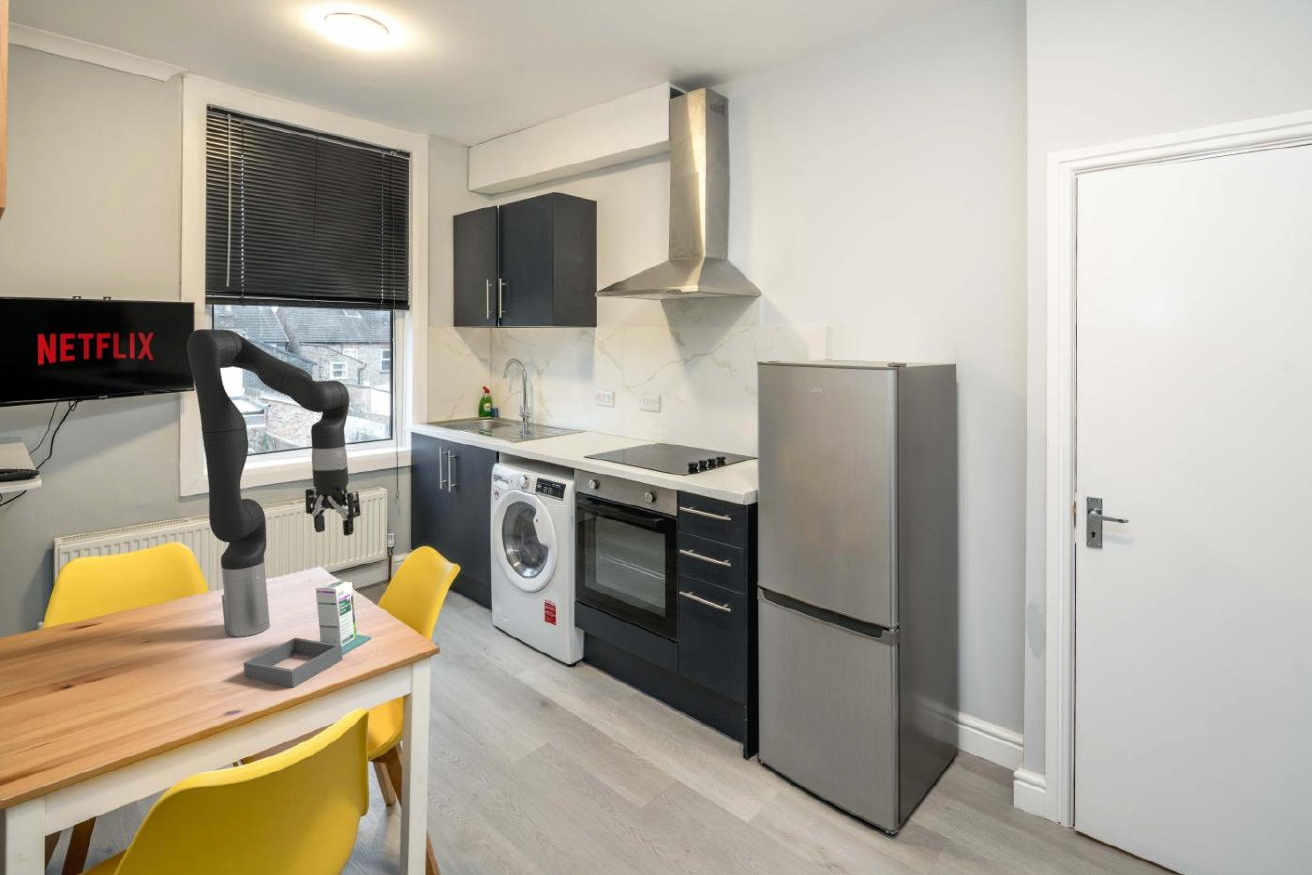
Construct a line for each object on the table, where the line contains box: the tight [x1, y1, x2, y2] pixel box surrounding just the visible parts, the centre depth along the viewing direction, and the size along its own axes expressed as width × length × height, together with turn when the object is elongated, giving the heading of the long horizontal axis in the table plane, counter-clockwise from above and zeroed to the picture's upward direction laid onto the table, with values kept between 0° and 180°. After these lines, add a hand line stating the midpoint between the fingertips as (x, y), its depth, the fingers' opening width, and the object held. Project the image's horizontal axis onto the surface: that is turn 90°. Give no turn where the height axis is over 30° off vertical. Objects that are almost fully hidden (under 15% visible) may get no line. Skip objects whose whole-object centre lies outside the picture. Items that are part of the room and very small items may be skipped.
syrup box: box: [315, 579, 358, 647], centre depth 163 cm, size 6×6×14 cm
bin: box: [243, 637, 343, 688], centre depth 152 cm, size 14×14×4 cm
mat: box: [319, 633, 372, 656], centre depth 164 cm, size 10×10×1 cm
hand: (334, 533), depth 163 cm, fingers open, 8 cm apart
